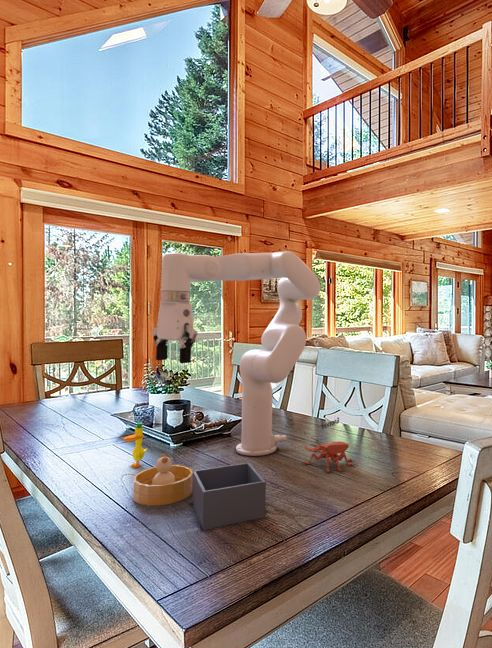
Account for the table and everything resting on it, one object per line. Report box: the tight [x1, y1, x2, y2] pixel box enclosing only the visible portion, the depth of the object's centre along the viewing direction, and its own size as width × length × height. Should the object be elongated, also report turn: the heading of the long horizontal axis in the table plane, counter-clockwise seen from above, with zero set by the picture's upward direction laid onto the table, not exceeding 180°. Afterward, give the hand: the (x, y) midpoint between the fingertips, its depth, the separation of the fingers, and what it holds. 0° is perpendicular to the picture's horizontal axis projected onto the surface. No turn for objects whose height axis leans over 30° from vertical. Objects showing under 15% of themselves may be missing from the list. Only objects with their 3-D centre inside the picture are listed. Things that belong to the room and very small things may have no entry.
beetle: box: [303, 417, 354, 473], centre depth 131 cm, size 15×12×13 cm
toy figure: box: [122, 422, 148, 469], centre depth 126 cm, size 7×4×12 cm, turn 138°
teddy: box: [152, 453, 175, 485], centre depth 107 cm, size 5×5×9 cm
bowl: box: [132, 464, 194, 507], centre depth 107 cm, size 13×13×5 cm
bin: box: [191, 461, 267, 531], centre depth 100 cm, size 13×13×8 cm
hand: (173, 361), depth 122 cm, fingers open, 9 cm apart
